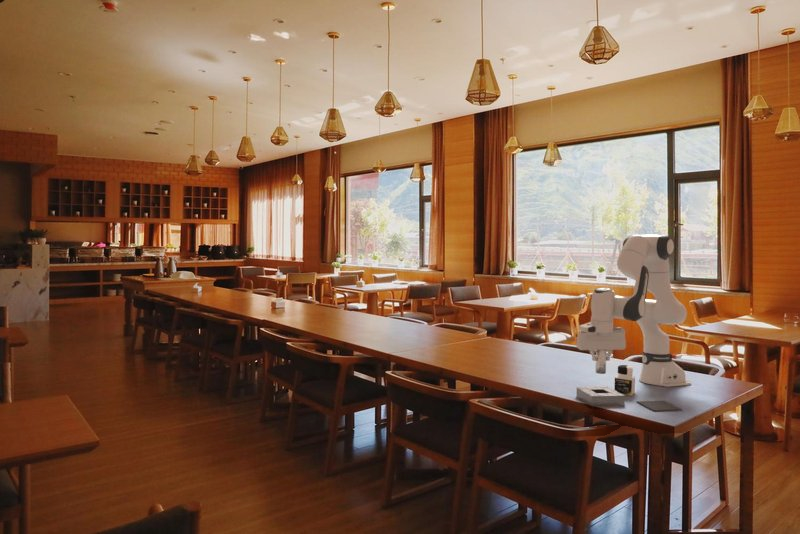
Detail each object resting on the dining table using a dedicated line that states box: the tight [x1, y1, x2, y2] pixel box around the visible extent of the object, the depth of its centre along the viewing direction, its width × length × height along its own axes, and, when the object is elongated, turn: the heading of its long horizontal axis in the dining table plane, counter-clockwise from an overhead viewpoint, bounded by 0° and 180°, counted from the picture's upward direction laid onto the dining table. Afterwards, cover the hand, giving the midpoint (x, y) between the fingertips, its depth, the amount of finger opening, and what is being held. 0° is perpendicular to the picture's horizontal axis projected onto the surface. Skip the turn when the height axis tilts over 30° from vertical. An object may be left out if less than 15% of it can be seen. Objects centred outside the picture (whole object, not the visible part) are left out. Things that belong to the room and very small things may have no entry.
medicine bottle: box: [613, 364, 636, 397], centre depth 243 cm, size 7×7×12 cm
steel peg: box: [595, 349, 607, 375], centre depth 230 cm, size 4×4×10 cm
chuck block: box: [576, 386, 626, 407], centre depth 230 cm, size 14×14×4 cm
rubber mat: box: [636, 400, 683, 412], centre depth 223 cm, size 12×12×1 cm
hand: (600, 360), depth 230 cm, fingers closed on steel peg, 4 cm apart
